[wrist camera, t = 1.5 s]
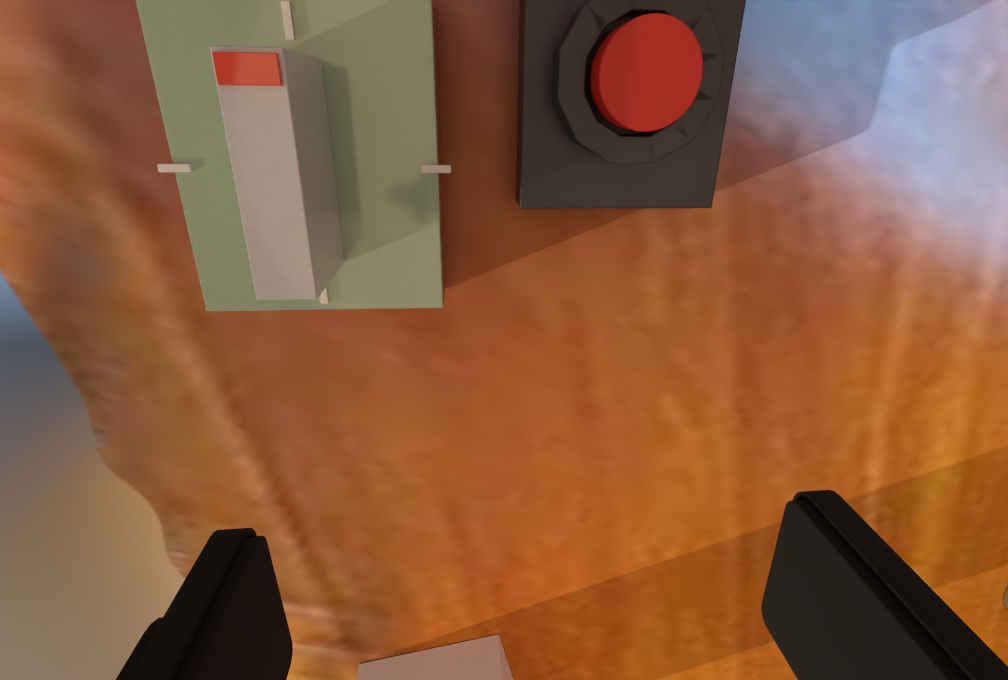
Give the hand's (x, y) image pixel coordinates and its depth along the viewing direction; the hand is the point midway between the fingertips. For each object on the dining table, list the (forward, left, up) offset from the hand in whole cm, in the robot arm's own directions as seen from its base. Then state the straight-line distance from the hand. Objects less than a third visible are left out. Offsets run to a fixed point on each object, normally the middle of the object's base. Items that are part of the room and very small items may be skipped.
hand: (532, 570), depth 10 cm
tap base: (-5, -8, -22) cm, 24 cm away
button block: (-9, +7, -22) cm, 25 cm away
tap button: (-9, +7, -19) cm, 22 cm away
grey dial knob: (-5, -8, -19) cm, 22 cm away
